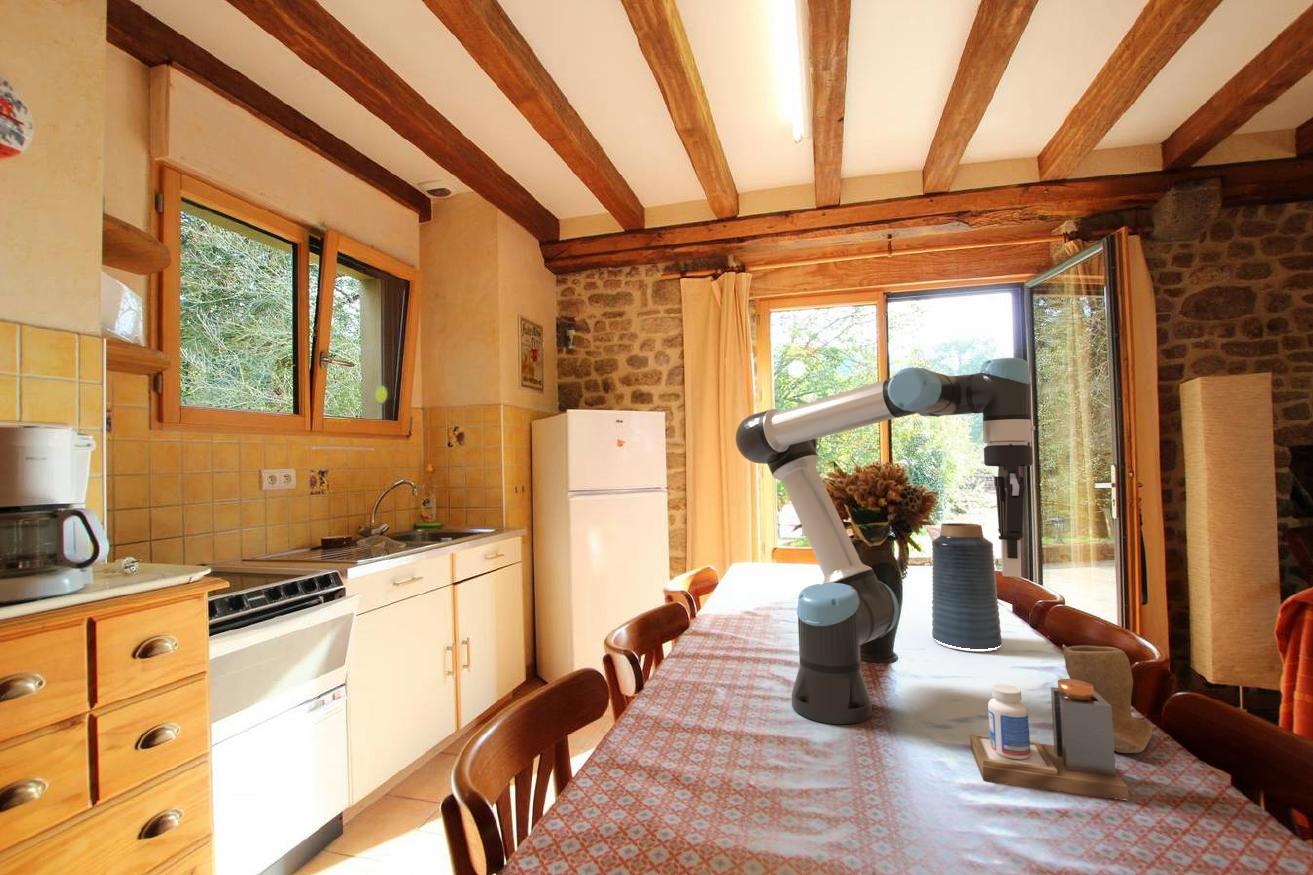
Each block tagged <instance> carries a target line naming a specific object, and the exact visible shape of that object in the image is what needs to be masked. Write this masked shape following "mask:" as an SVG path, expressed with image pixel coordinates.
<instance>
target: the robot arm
mask: <svg viewBox="0 0 1313 875" xmlns="http://www.w3.org/2000/svg"><path fill="white" fill-rule="evenodd" d="M1030 377H1031V376H1030V369H1029V363H1028V361H1027V360H1026V359H1023V358H1019V357H1006V358H1005V357H1004V358H1003V357H1002V358H995V359H990V360H985V361H984V362H982V364H981V368H980V372H976V373H972V374H961V375H947V374H943V373H940V372H935V371H931V370H929V369H927V368H924V367H906V368H903V369H900V370H899V371H897V372H896V373H895V374H894V375H893V376H892V377H890V378H886V379H884V380H880V381H877V382H873V383H870V384H867V385H862V386H860V387H858V388H857V387H856V388H854V389H850V390H847V391H844V392H839V393H836V394H834V395H830V396H827V397H823V398H820V399H817V400H813V401H809V402H807V403H803V404H801V405H797V406H793V407H790V408H786V409H784V410H781V411H780V410H778V409H777V408H776V409H775V408H771V409H768V410H765V411H761V412H757V413H753V414H751V415H749V416H747V417H745V418H744V419H743V420H742V421H741V422H740V423H739V425H738V427H737V429H736V431H735V443H736V447H737V449H738V452H740V454H741V455H742V457H744V458H745V459H746V460H748V461H749V462H753V463H755V464H763V465H765V464H767V466H768V469H769V471H770V473H771V475H772V477H773V478H774V479H775V480H777V481H780V482H782V484H783V487H784V489H785V491H786V493H787V496H788V497H789V500H790V502H791V504H792V507H793V508H794V511H795V513H796V515H797V517H798V519H799V523H800V526H802V529H803V532H804V535H805V536H806V538H807V540H808V543H809V545H810V548H811V550H812V551H813V554H814V556H815V559H816V561H817V563H818V565H819V567H820V570H821V572H822V574H823V577H824V580H823V583H822V584H821V583H820V584H819V583H817V584H812V585H809V586H806V587H805V588H803V589H802V590H801V591H800V592H799V594H798V596H797V598H798V599H797V608H796V614H797V622H798V623H797V624H798V625H797V626H798V652H799V654H798V655H799V657H798V658H799V668H798V671H797V675H796V676H795V677H796V678H795V681H794V684H793V688H792V691H791V708H792V709H793V710H794V712H796V713H797V714H799V715H800V716H802V717H804V718H806V719H809V720H812V721H815V722H819V723H824V724H832V725H850V724H852V725H853V724H858V723H862V722H864V721H866V720H869V718H870V717H872V713H873V708H872V707H873V706H872V704H873V703H872V698H871V696H870V693H869V690H868V687H867V684H866V682H865V678H864V676H863V673H862V669H861V668H862V667H861V664H862V663H861V646H862V645H864V644H866V643H868V642H871V641H873V640H876V639H879V638H880V639H881V638H882V637H884V636H885V635H886V634H888V633H889V632H890V631H891V630H892V629H893V628H894V627H895V626H896V624H897V620H898V618H899V614H900V608H899V607H900V606H899V603H898V599H897V596H896V594H895V593H894V591H893V590H892V588H890V586H888V585H887V584H886V583H883V582H882V581H880V580H878V578H877V575H876V574H875V571H874V569H873V568H872V567H870V566H869V565H866V564H864V563H863V562H862V561H861V559H860V557H859V554H858V552H857V550H856V548H855V546H854V544H853V541H852V539H851V538H850V536H849V534H848V531H847V529H846V528H845V525H844V523H843V521H842V519H841V516H840V515H839V513H838V510H837V508H836V506H835V505H834V502H833V500H832V498H831V496H830V493H829V491H828V490H827V487H826V485H825V483H824V481H823V479H822V477H821V474H820V473H819V471H818V468H817V465H818V462H819V460H820V458H819V455H818V452H817V451H818V445H819V440H818V439H820V438H823V437H826V436H827V437H828V436H832V435H835V434H838V433H839V434H840V433H843V432H846V431H851V430H854V429H858V428H862V427H867V426H870V425H875V424H879V423H882V422H886V421H889V420H890V421H891V420H893V419H898V418H903V417H907V416H911V415H916V414H918V415H919V416H921V417H936V418H938V417H944V416H945V417H946V416H957V415H969V414H970V415H971V414H972V415H973V414H975V415H976V414H982V440H983V443H985V444H986V446H985V447H984V448H983V462H984V465H985V466H986V467H997V468H998V470H997V476H994V481H993V482H994V488H995V494H996V495H995V496H996V508H997V522H998V523H997V524H998V525H997V526H998V529H997V531H998V533H999V535H998V540H1000V545H1001V546H1000V550H1001V552H1000V553H1001V574H1002V577H1007V578H1008V577H1010V578H1022V565H1021V564H1022V561H1021V540H1022V539H1023V537H1024V533H1023V527H1024V526H1023V524H1024V494H1025V488H1026V486H1025V484H1024V476H1020V474H1021V473H1020V470H1019V467H1031V466H1032V465H1033V463H1034V462H1033V461H1034V455H1033V447H1032V445H1028V443H1030V442H1032V440H1033V439H1032V432H1033V431H1035V430H1036V426H1035V425H1031V424H1032V421H1031V420H1032V416H1031V413H1032V412H1031V411H1032V410H1031V405H1032V404H1031V403H1032V402H1031V400H1032V399H1031V393H1032V392H1031V388H1032V387H1031V386H1032V382H1031V378H1030Z"/></svg>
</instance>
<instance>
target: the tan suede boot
mask: <svg viewBox="0 0 1313 875" xmlns="http://www.w3.org/2000/svg"><path fill="white" fill-rule="evenodd" d="M1063 657H1064V663H1065V668H1066V672H1067V675H1068V677H1069V679H1075V680H1080V681H1084V682H1087V683H1089V684H1091V685H1092V686H1093V690H1094V691H1096V692H1097V693H1098V694H1099V695H1100V696H1101V697H1102V698H1103V699H1104V700H1105V701H1106V702H1108V703H1109V704H1110V705H1111V706H1112V722H1113V739H1114V751H1116V752H1117V753H1119V754H1120V753H1121V754H1139V753H1141V752H1143V751H1144V750H1145V749H1146V747H1147V745H1148V744H1149V742H1150V739H1151V738H1152V734H1153V730H1154V728H1153V725H1152V724H1151V723H1150V722H1148V721H1145V720H1142V719H1139V718H1136V717H1134V716H1133V715H1132V708H1131V707H1132V694H1133V685H1134V678H1133V673H1132V668H1131V663H1130V660H1129V657H1128V656H1127V654H1126V652H1124V650H1122V649H1120V648H1117V647H1112V646H1098V645H1097V646H1096V645H1072V646H1067V647H1065V649H1064V650H1063Z"/></svg>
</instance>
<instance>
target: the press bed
mask: <svg viewBox="0 0 1313 875" xmlns="http://www.w3.org/2000/svg"><path fill="white" fill-rule="evenodd" d="M969 742H970V746H969V747H970V750H971V752H972V754H973V757H974V760H975V762H976V765H977V768H978V770H979V773H980V776H981V778H982V780H983V781H986V782H991V781H992V783H998V784H999V783H1000V784H1006V785H1013V786H1019V787H1020V786H1021V787H1025V786H1026V788H1033V789H1034V788H1035V789H1039V788H1040V789H1041V790H1046V789H1049V790H1048V791H1053V790H1056V791H1055V792H1060V791H1064V792H1063V793H1067V792H1068V793H1067V794H1076V795H1083V796H1087V797H1088V796H1089V797H1095V796H1097V798H1102V797H1107V798H1106V799H1108V798H1117V799H1127V800H1128V801H1129V791H1128V788H1129V787H1128V785H1127V784H1126V783H1125V781H1123V780H1122V778H1121V777H1120V776H1119V774H1118V773H1117V772H1116V777H1111V776H1104V775H1096V774H1089V773H1081V772H1074V771H1067V770H1066V768H1065V767H1064V765H1063V757H1057V755H1056V754H1055V752H1054V744H1046V743H1040V742H1039V741H1037V740H1031V739H1030V756H1029V757H1028V758H1026V759H1011V758H1007V757H1004V756H1001V755H999V754H997V753H995V752H994V751H993V750H992V748H991V744H990V734H989V735H988V734H982V733H981V734H979V733H974V732H973V733H972V732H971V734H970V735H969ZM1042 788H1043V789H1042ZM1058 790H1059V791H1058Z"/></svg>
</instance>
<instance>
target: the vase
mask: <svg viewBox="0 0 1313 875" xmlns="http://www.w3.org/2000/svg"><path fill="white" fill-rule="evenodd" d="M931 543H932V544H931V546H932V548H931V550H932V551H931V552H932V556H931V557H932V560H931V561H932V564H931V565H932V568H931V569H932V573H931V574H932V576H931V577H932V584H931V585H932V588H931V590H932V593H931V594H932V600H931V602H932V603H931V604H932V607H931V610H932V614H931V617H932V621H931V622H932V623H931V624H932V625H931V626H932V630H931V631H932V633H931V634H932V635H931V636H932V639H933V638H934V639H936V640H938V641H940V642H942V643H945V644H948V645H952V646H956V647H961V648H970V649H988V648H995V647H998V646H1000V645H1001V644H1003V642H1002V640H1003V639H1002V635H1001V632H1002V630H1001V620H1000V611H999V610H1000V608H999V607H1000V606H999V601H998V590H997V580H996V567H995V564H996V563H995V558H994V557H995V555H994V550H993V549H994V543H993V542H991V540H988V539H987V538H986V537H984V534H983V527H982V525H981V524H978V523H976V524H975V523H965V522H963V523H961V522H960V523H959V522H956V523H955V522H954V523H951V522H948V523H941V525H940V535H939V536H938V537H936V538H935V539H933V540H932V541H931ZM934 639H933V640H934ZM1001 646H1002V645H1001Z"/></svg>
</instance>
